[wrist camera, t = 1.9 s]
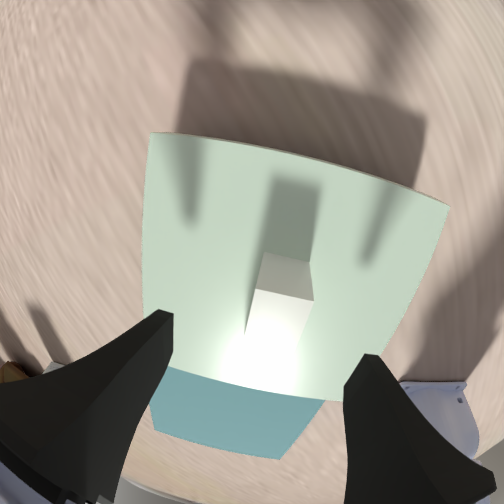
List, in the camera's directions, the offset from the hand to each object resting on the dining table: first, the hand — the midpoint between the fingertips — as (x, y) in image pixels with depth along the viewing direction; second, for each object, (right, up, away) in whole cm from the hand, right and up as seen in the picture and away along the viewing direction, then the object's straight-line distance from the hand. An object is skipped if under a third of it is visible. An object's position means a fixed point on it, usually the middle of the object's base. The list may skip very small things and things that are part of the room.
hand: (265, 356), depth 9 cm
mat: (-3, -13, +14) cm, 20 cm away
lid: (+1, +2, +4) cm, 4 cm away
